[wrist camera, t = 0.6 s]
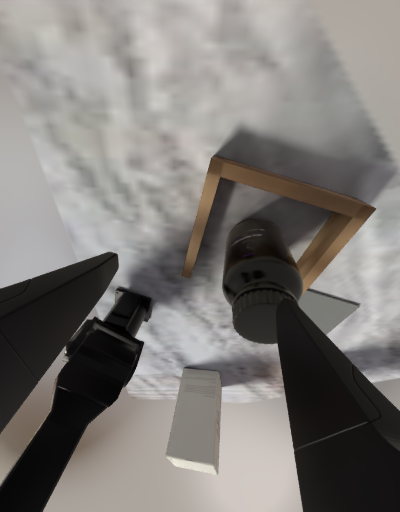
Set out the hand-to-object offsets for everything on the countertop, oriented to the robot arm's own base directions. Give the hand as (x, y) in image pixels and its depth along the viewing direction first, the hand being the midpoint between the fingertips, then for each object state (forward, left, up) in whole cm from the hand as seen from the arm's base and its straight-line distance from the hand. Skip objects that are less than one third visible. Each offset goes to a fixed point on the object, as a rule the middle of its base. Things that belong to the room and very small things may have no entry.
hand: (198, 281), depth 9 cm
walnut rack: (-2, -6, -13) cm, 15 cm away
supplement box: (-43, -10, -14) cm, 47 cm away
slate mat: (-12, -19, -13) cm, 26 cm away
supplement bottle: (-3, -6, -14) cm, 15 cm away
